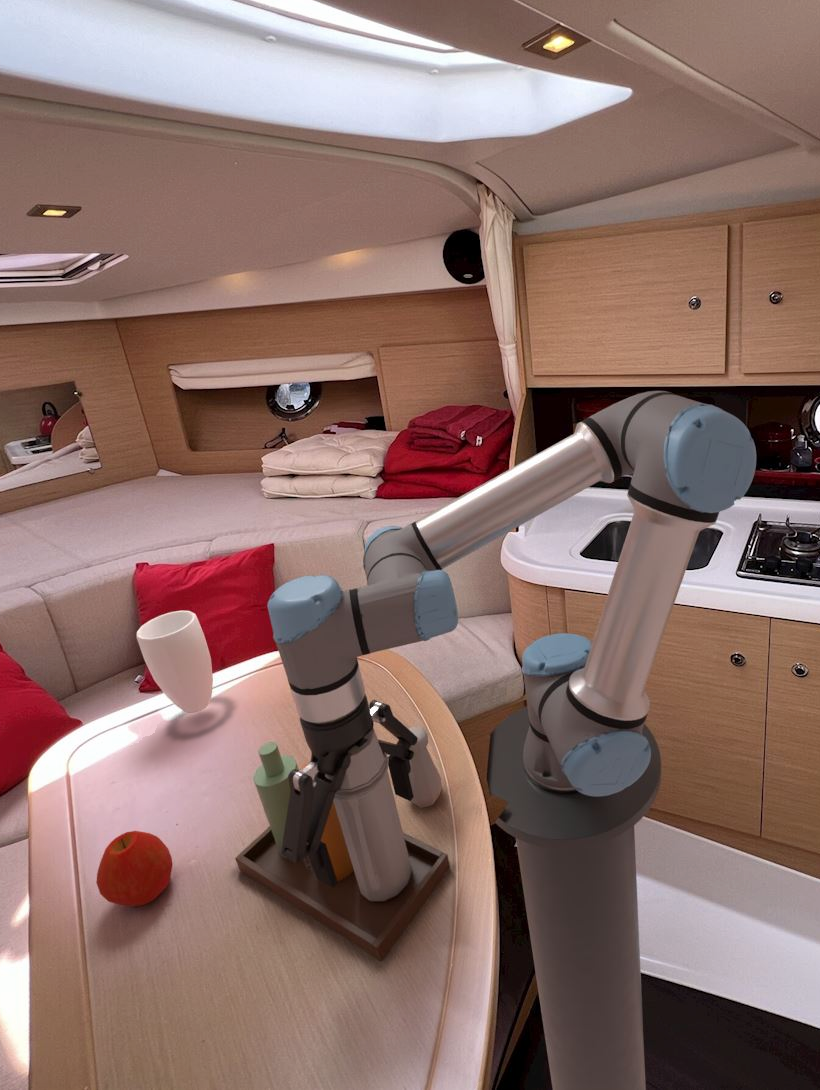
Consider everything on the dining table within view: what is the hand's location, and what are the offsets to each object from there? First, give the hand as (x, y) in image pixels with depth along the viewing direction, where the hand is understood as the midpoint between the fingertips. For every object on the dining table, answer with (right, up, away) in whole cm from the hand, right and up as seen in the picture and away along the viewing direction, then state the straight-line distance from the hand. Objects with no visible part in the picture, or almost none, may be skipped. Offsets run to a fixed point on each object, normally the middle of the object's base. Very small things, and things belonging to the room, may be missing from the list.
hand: (368, 835), depth 78 cm
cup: (-45, +1, +41) cm, 61 cm away
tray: (-6, -9, +8) cm, 13 cm away
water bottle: (+1, -9, +4) cm, 10 cm away
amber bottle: (-7, -8, +8) cm, 13 cm away
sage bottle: (-14, -7, +12) cm, 20 cm away
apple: (-33, -12, +7) cm, 36 cm away
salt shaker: (+3, -4, +18) cm, 19 cm away
